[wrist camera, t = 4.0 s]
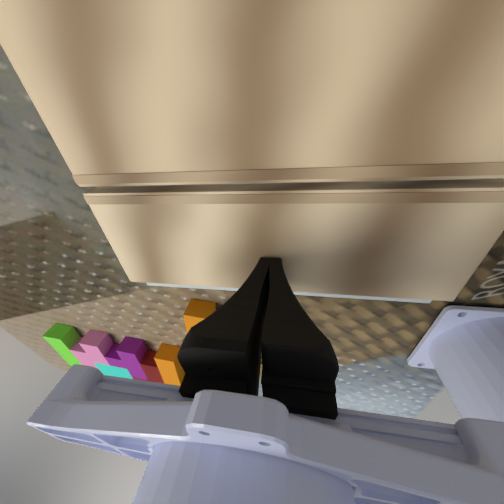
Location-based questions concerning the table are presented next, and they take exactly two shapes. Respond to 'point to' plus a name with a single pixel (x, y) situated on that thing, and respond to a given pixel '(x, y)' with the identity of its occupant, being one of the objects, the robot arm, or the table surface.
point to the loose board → (307, 233)
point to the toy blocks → (126, 350)
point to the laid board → (264, 88)
